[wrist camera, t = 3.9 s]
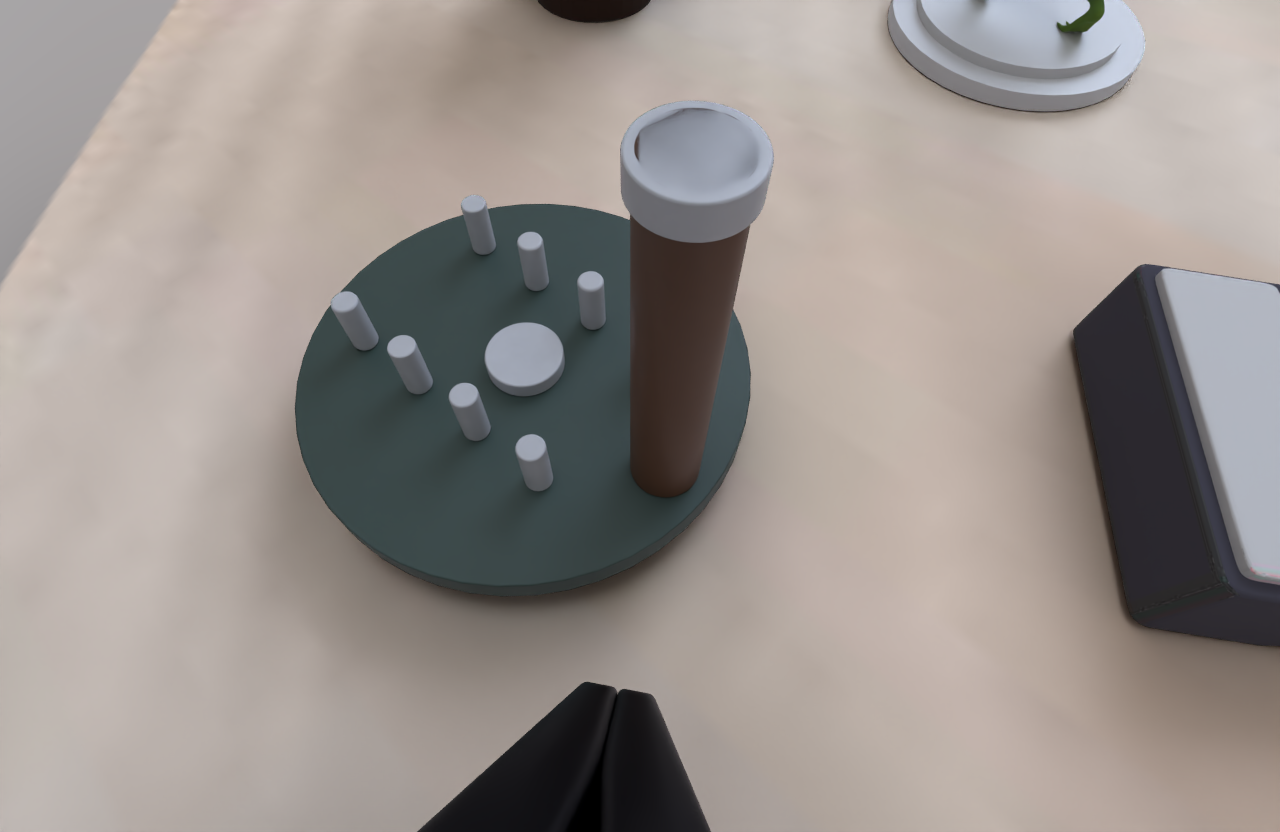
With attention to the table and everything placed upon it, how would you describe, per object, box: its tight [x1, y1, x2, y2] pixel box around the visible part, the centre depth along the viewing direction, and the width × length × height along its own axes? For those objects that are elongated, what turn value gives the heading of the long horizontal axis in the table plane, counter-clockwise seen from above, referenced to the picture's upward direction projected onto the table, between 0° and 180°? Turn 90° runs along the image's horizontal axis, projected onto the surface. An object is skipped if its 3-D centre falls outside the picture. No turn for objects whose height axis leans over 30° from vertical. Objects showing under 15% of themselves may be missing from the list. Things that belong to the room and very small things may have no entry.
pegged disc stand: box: [295, 101, 774, 596], centre depth 17 cm, size 14×14×12 cm
